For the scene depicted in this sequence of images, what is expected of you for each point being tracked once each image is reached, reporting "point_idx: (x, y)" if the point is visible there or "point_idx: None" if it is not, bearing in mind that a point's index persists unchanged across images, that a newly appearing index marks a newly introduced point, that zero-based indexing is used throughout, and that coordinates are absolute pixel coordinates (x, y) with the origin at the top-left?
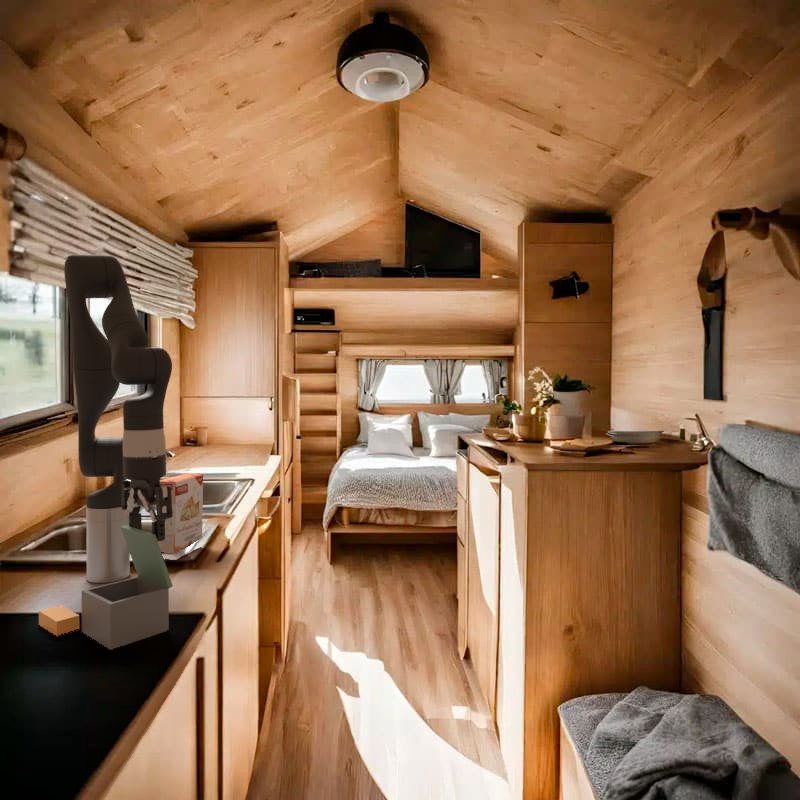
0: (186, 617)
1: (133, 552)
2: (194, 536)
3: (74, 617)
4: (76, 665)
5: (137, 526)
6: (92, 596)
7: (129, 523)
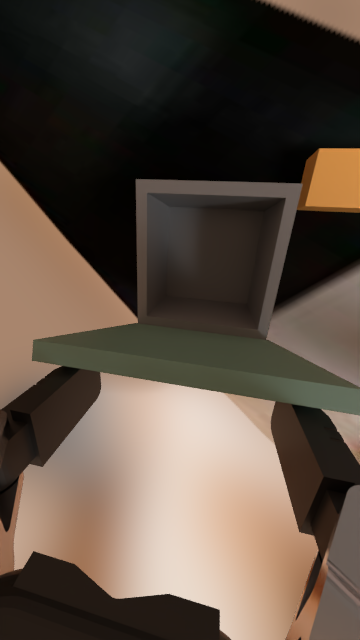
0: None
1: (263, 349)
2: None
3: (307, 194)
4: (151, 122)
5: (282, 435)
6: (232, 182)
7: (316, 426)
